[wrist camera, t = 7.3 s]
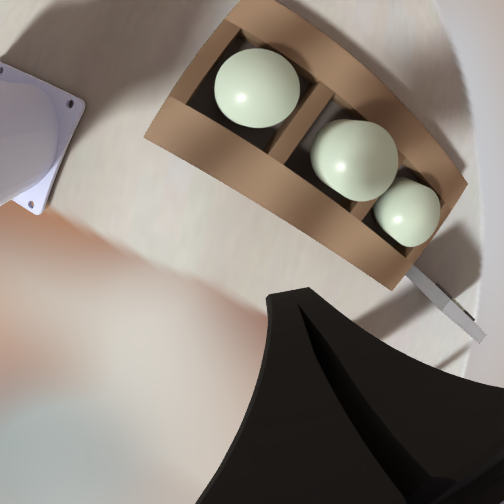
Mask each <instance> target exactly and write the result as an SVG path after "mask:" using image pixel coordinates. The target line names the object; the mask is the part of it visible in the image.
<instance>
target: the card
mask: <svg viewBox="0 0 504 504" xmlns="http://www.w3.org/2000/svg"><path fill="white" fill-rule="evenodd" d="M405 275H406V276H407V277H408V278H409V279H410V280H411V281H412V282H413V283H414V284H415V285H416V286H417V287H418V288H419V289H420V290H421V291H422V292H423V293H424V294H425V295H426V296H427V297H428V298H429V299H430V300H431V301H432V302H433V303H434V304H435V305H436V306H437V307H438V308H439V309H440V310H441V311H442V312H443V313H444V314H445V315H446V316H448V317H449V318H450V319H451V320H452V321H454V322H455V323H456V324H457V325H458V326H460V327H461V328H462V329H463V330H464V331H465V332H467V333H468V334H469V335H470V336H471V337H472V338H473V339H475V340H476V341H477V342H478V343H480V342H481V341H482V340H483V339H484V338H485V336H486V334H485V333H484V332H483V331H482V330H481V329H480V328H479V326H478V325H477V324H476V323H475V322H474V320H475V319H474V318H473V317H472V316H471V315H470V314H469V313H468V312H467V311H466V310H465V309H464V308H463V307H462V306H461V305H460V304H459V303H458V302H457V301H456V300H455V299H454V298H453V297H452V296H451V295H450V294H449V293H448V292H447V291H445V290H444V289H443V288H442V287H441V286H440V285H439V284H438V283H436V284H434V283H433V282H432V281H431V280H430V279H429V278H428V277H427V276H426V275H425V274H423V273H422V272H421V271H420V270H419V269H418V268H417V267H415V266H414V265H412V267H411V268H410V269H409V270H408V272H407V273H406V274H405Z"/></svg>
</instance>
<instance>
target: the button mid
mask: <svg viewBox="0 0 504 504" xmlns="http://www.w3.org/2000/svg"><path fill="white" fill-rule="evenodd" d="M310 157H311V164H312V167H313V169H314V171H315V173H316V175H317V176H318V177H319V179H320V180H321V181H323V182H324V183H325V184H327V185H328V186H330V187H331V188H333V189H334V190H336V191H337V192H339V193H340V194H342V195H343V196H345V197H346V198H348V199H351V200H354V201H369V200H373V199H375V198H377V197H379V196H380V195H382V194H383V193H384V192H385V191H386V190H387V189H388V188H389V187H390V185H391V184H392V182H393V180H394V178H395V176H396V173H397V169H398V152H397V148H396V145H395V142H394V140H393V139H392V137H391V136H390V134H389V133H388V132H387V131H386V130H385V129H384V128H382V127H381V126H379V125H377V124H375V123H372V122H367V121H358V120H347V119H339V120H334V121H331V122H329V123H327V124H326V125H324V126H323V127H322V128H321V129H320V130H319V131H318V132H317V134H316V135H315V137H314V139H313V142H312V145H311V151H310Z"/></svg>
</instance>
